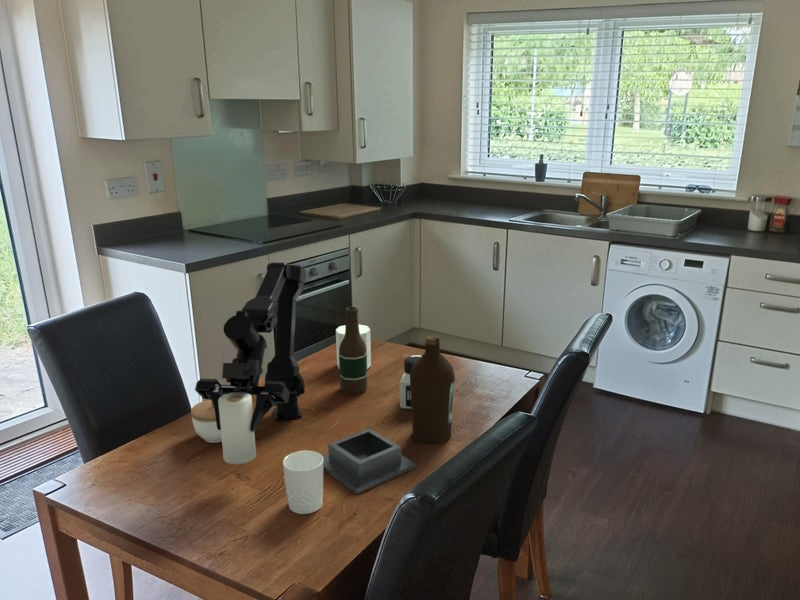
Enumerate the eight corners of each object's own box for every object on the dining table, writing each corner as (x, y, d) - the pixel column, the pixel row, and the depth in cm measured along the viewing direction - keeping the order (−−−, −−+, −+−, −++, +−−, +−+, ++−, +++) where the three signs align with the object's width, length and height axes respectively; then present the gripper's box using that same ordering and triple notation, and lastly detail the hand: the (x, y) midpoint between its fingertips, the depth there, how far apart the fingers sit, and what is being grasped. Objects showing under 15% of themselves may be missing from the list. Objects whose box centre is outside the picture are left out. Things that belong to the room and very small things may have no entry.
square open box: (314, 463, 148) (313, 443, 147) (371, 440, 158) (371, 421, 156) (357, 494, 136) (356, 472, 135) (415, 467, 146) (415, 447, 145)
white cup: (308, 521, 128) (305, 475, 125) (277, 508, 132) (274, 463, 129) (333, 501, 134) (331, 456, 131) (303, 489, 138) (300, 446, 135)
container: (428, 410, 173) (428, 364, 170) (399, 408, 175) (399, 362, 171) (433, 398, 181) (433, 353, 177) (405, 396, 182) (405, 352, 178)
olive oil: (411, 445, 155) (410, 345, 148) (409, 425, 166) (408, 330, 159) (456, 445, 156) (458, 344, 149) (451, 424, 166) (452, 329, 159)
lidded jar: (185, 437, 160) (181, 402, 158) (223, 422, 168) (220, 388, 165) (209, 452, 153) (205, 415, 151) (248, 436, 161) (245, 400, 158)
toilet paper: (340, 359, 209) (339, 323, 205) (373, 360, 208) (372, 324, 204) (334, 372, 199) (332, 334, 196) (368, 373, 198) (367, 335, 195)
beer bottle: (373, 387, 188) (371, 306, 181) (357, 397, 181) (354, 314, 175) (351, 381, 192) (348, 302, 185) (334, 391, 185) (331, 309, 179)
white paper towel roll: (221, 451, 140) (215, 395, 136) (252, 445, 142) (248, 389, 138) (226, 466, 134) (220, 408, 130) (258, 460, 136) (254, 402, 133)
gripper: (194, 342, 136) (176, 415, 129) (282, 345, 134) (269, 419, 127) (212, 363, 146) (196, 432, 139) (294, 366, 144) (283, 437, 136)
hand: (235, 430), depth 135 cm, fingers closed on white paper towel roll, 7 cm apart
